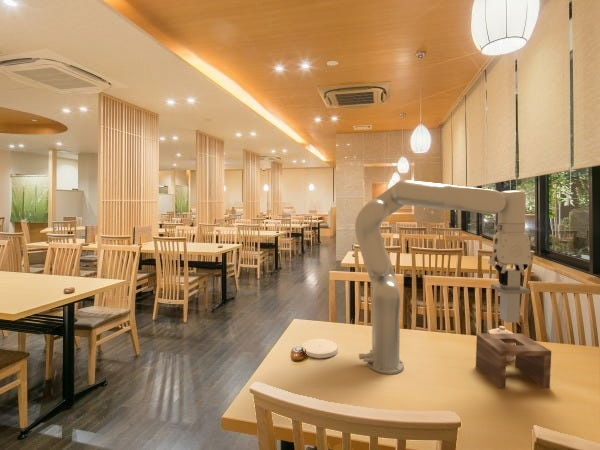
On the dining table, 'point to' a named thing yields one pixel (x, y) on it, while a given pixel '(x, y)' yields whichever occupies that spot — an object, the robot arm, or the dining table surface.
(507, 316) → the collared peg
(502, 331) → the teacup with lid
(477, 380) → the dining table surface
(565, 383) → the dining table surface
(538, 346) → the slotted bridge
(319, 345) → the plastic lid
